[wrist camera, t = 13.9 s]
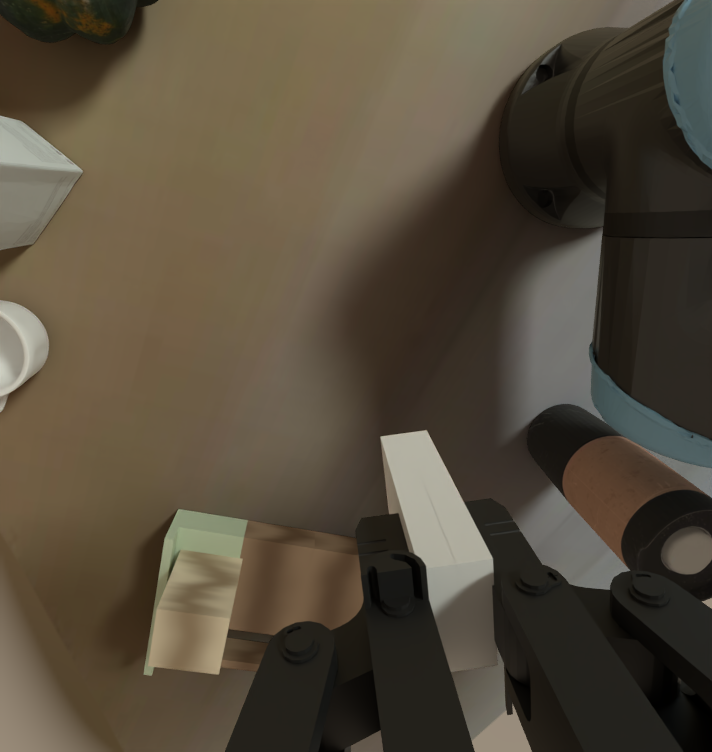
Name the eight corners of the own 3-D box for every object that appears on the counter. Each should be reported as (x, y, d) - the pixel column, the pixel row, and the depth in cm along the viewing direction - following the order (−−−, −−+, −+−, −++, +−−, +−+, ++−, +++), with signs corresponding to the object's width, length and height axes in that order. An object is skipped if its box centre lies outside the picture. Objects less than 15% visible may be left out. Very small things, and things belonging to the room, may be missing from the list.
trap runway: (441, 551, 56) (448, 569, 54) (403, 668, 61) (408, 690, 58) (247, 520, 53) (244, 537, 51) (222, 644, 58) (217, 666, 55)
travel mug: (612, 429, 54) (776, 547, 34) (559, 482, 55) (689, 625, 36) (561, 386, 52) (705, 485, 33) (508, 442, 53) (616, 569, 34)
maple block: (242, 558, 51) (230, 618, 44) (232, 608, 53) (218, 674, 45) (180, 549, 51) (156, 608, 43) (172, 600, 52) (148, 666, 44)
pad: (247, 520, 53) (241, 550, 49) (222, 644, 58) (214, 683, 53) (178, 508, 53) (164, 538, 48) (157, 636, 57) (143, 674, 52)
